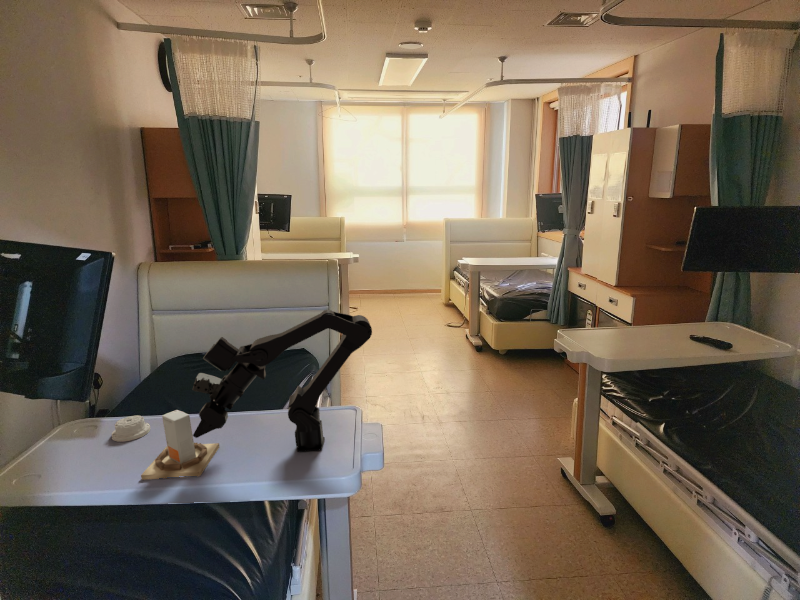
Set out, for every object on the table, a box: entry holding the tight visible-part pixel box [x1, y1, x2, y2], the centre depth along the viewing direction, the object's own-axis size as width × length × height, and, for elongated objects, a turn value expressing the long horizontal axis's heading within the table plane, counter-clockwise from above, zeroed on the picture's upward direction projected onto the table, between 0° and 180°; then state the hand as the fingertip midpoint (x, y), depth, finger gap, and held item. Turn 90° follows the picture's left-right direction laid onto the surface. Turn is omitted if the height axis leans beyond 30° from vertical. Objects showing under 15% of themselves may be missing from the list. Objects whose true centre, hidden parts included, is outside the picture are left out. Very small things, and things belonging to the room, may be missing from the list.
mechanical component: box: [111, 415, 151, 443], centre depth 144 cm, size 10×4×10 cm
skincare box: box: [161, 409, 196, 465], centre depth 125 cm, size 6×4×12 cm
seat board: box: [140, 442, 220, 481], centre depth 126 cm, size 14×14×2 cm
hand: (198, 428), depth 125 cm, fingers open, 9 cm apart
